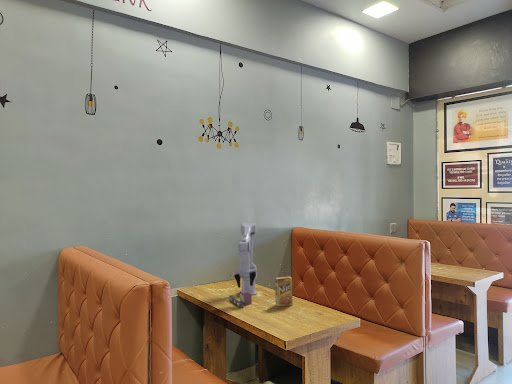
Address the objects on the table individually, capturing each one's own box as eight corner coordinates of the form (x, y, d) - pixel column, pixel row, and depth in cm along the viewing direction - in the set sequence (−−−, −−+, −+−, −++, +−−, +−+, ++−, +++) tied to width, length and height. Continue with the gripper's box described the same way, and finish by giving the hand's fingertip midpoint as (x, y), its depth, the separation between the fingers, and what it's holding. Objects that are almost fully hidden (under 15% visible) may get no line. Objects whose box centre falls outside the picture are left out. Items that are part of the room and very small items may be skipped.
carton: (244, 305, 202) (244, 294, 202) (239, 301, 209) (239, 291, 209) (251, 304, 203) (251, 293, 204) (246, 300, 211) (246, 290, 211)
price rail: (229, 299, 213) (229, 295, 213) (231, 299, 213) (231, 295, 213) (240, 308, 196) (240, 303, 196) (242, 307, 197) (242, 303, 197)
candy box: (277, 307, 197) (277, 278, 197) (275, 304, 201) (274, 277, 201) (292, 305, 200) (292, 277, 200) (290, 303, 204) (289, 275, 204)
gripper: (235, 265, 200) (235, 289, 200) (259, 262, 206) (259, 286, 206) (230, 263, 206) (231, 286, 206) (254, 260, 212) (254, 283, 212)
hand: (245, 286), depth 206 cm, fingers open, 7 cm apart
